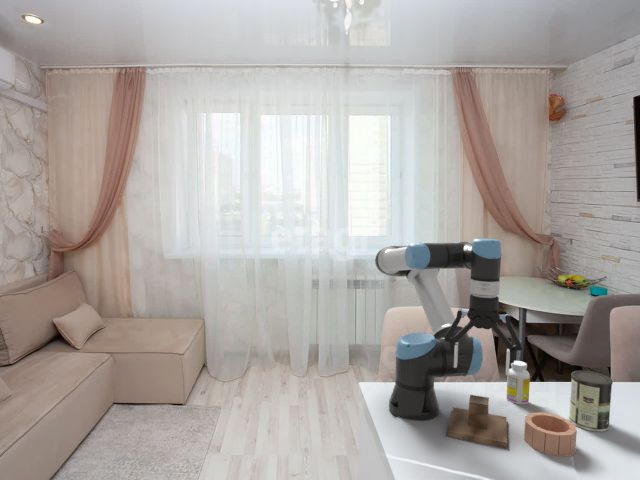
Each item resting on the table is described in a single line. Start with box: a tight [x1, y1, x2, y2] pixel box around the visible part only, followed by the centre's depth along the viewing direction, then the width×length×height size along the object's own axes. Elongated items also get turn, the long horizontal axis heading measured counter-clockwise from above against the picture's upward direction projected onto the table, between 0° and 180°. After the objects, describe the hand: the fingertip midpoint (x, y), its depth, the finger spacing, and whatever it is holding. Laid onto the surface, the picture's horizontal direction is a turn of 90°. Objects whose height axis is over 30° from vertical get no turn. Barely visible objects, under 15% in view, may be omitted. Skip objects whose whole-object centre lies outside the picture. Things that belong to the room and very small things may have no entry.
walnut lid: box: [447, 394, 508, 448], centre depth 125 cm, size 15×15×8 cm
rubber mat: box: [444, 410, 510, 451], centre depth 125 cm, size 16×16×1 cm
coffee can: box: [568, 370, 614, 433], centre depth 130 cm, size 10×10×14 cm
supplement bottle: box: [506, 360, 531, 405], centre depth 144 cm, size 7×7×13 cm
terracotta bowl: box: [523, 412, 578, 457], centre depth 118 cm, size 12×12×6 cm
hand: (480, 369), depth 123 cm, fingers open, 13 cm apart
